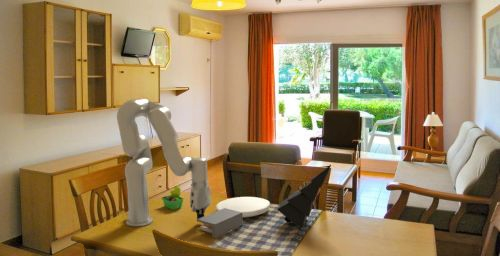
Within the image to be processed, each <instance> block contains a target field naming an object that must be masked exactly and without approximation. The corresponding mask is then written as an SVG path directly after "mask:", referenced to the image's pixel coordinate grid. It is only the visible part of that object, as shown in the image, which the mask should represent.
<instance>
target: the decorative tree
mask: <svg viewBox="0 0 500 256" xmlns="http://www.w3.org/2000/svg"><path fill="white" fill-rule="evenodd" d="M331 167H332V164H329V165H327V167H325V168H324V169H323V170H322V171H320V172H319V173H317V174H316V175H314V176H313V177H311V180H310V181H309V182H308V183H306V184H305V185H303V186H302V187H301V189H299V190H295V191H293V192H292V193H290V195H289V196H288V197H287V198H286V199H283V200H282V201H281V202H280V203H279V206H278V208H277V209H276V210H277V211H278V212H279V213H281V214H282V215H283V216H284V218H283V219H284V221H285V223H287V224H291V223H292V224H294V225H295V226H296V227H297V228H299V229H301V228H303V229H304V226H305V225H306V222H305V221H307V219H308V218H309V217H310V215H311V212H312V210H313V203H314V202H315V200H316V198H317V195H318V193H319V191H320V189H321V188H322V187H323V185H324V183H325V180H327V179H326V178H327V176H328V173H329V171H330V170H331V169H330V168H331ZM304 224H305V225H304Z"/></svg>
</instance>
